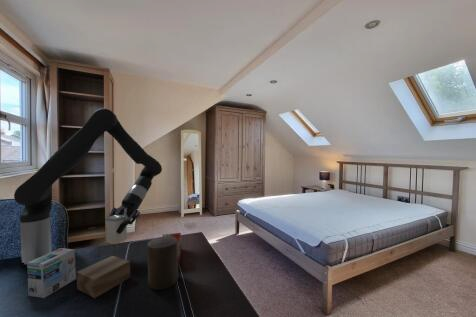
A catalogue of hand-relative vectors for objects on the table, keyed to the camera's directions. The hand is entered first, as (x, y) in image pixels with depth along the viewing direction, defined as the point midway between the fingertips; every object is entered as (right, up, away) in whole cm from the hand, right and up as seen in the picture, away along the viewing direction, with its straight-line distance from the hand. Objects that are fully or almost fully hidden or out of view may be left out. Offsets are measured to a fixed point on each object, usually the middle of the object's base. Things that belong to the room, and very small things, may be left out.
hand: (112, 231), depth 85 cm
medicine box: (+23, -12, +3) cm, 26 cm away
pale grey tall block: (+1, -4, +2) cm, 5 cm away
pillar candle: (+25, -12, -13) cm, 31 cm away
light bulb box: (-11, -13, -15) cm, 23 cm away
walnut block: (+5, -13, -14) cm, 20 cm away
